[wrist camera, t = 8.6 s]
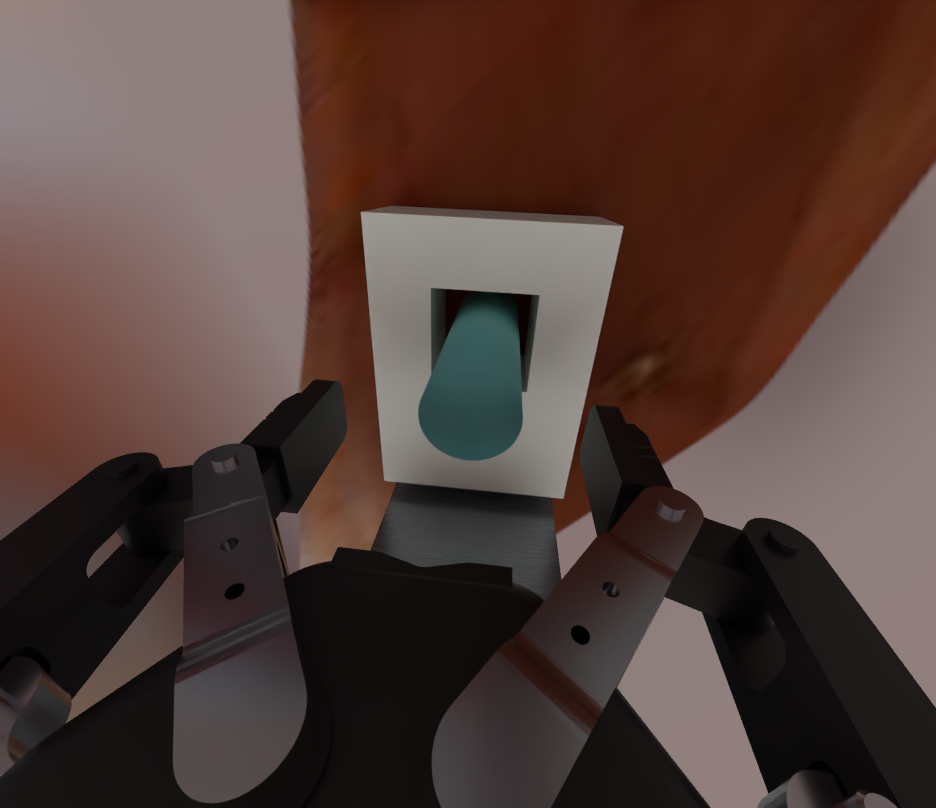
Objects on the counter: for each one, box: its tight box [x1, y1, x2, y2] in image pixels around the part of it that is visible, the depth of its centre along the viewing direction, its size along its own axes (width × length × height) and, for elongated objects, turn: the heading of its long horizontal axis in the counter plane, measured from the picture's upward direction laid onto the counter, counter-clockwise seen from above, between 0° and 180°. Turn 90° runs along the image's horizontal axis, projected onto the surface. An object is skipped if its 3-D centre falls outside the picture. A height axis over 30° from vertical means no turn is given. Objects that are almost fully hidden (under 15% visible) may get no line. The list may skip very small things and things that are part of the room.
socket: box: [361, 206, 624, 499], centre depth 22 cm, size 15×11×5 cm
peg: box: [418, 291, 523, 461], centre depth 18 cm, size 4×4×12 cm
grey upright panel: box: [371, 482, 561, 600], centre depth 18 cm, size 5×10×22 cm, turn 88°
